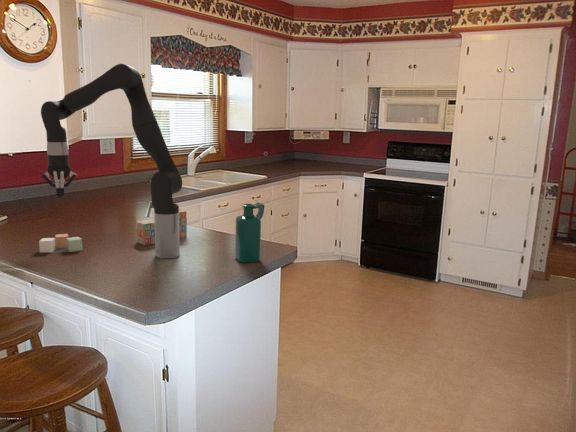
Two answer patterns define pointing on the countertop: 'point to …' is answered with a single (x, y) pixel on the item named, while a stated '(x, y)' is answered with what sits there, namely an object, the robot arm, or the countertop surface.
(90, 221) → the countertop surface
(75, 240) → the sage cube
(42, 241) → the cream cube
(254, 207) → the pitcher
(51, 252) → the mat
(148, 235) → the stack of blocks
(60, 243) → the terracotta cube
